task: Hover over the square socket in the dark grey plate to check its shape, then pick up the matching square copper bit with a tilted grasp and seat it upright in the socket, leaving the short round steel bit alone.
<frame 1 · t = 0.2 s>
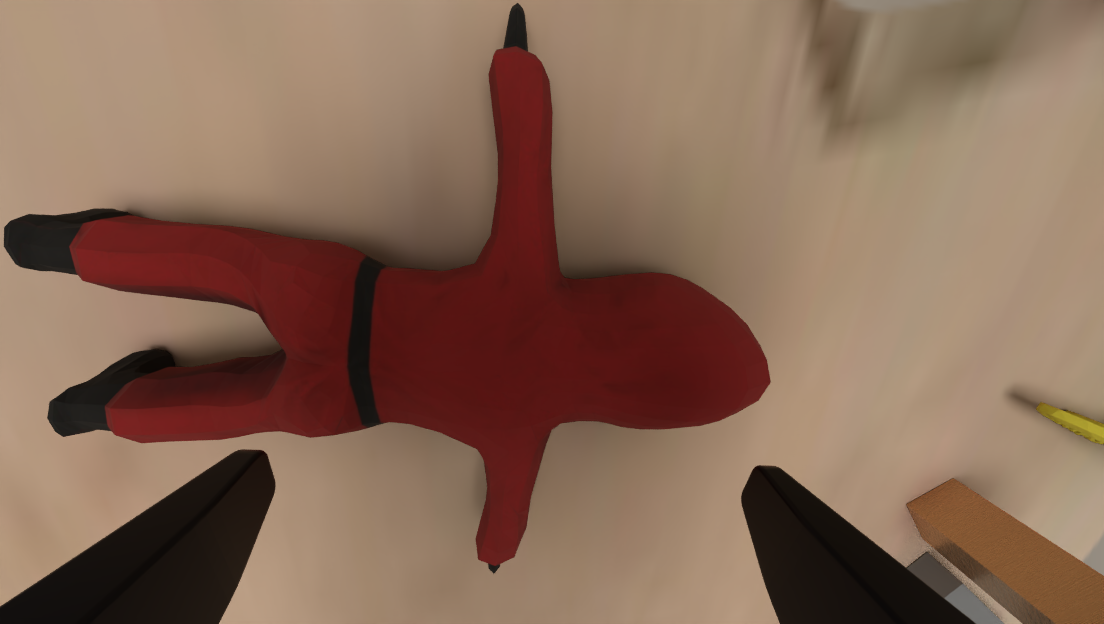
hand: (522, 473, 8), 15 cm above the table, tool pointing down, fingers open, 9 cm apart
toy: (442, 315, 24), on the table
decorative insect: (1077, 411, 28), on the table
square bit: (937, 509, 29), on the table
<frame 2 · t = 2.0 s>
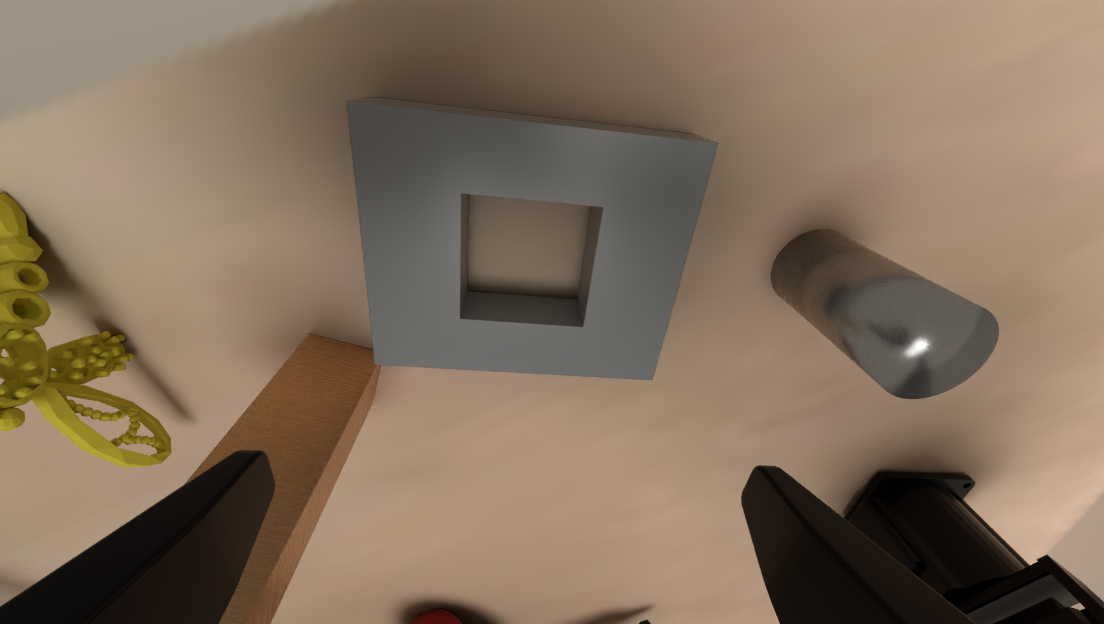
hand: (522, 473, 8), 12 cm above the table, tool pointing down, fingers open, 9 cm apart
socket plate: (527, 243, 18), on the table
decorative insect: (98, 328, 20), on the table
square bit: (342, 370, 21), on the table
round bit: (810, 267, 20), on the table
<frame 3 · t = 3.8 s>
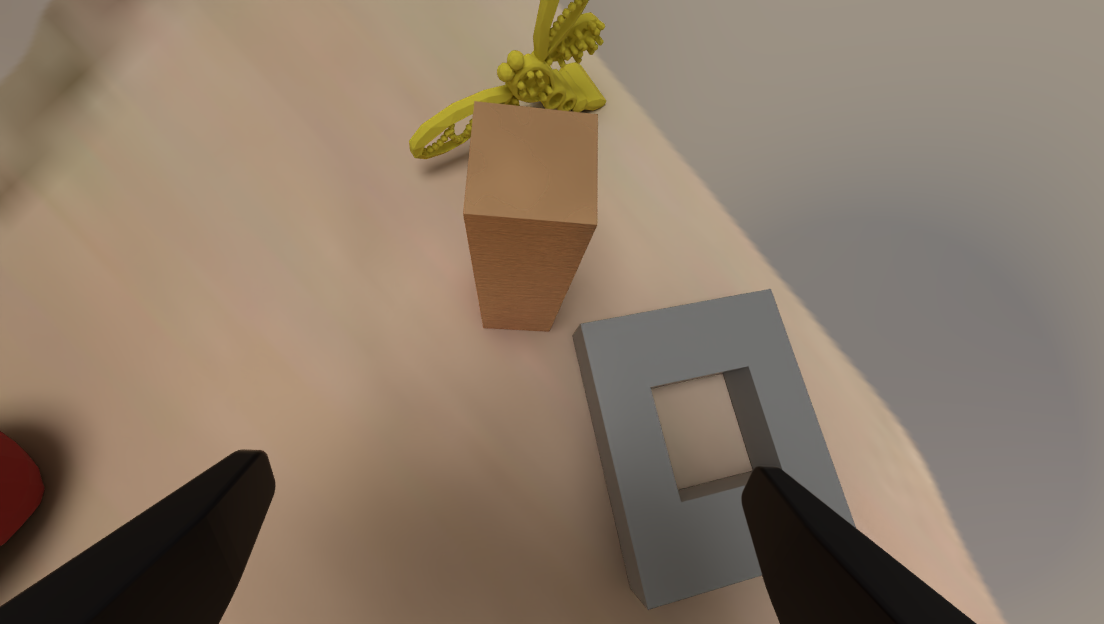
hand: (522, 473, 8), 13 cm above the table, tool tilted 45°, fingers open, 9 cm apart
socket plate: (693, 431, 22), on the table
decorative insect: (508, 128, 26), on the table
square bit: (518, 298, 23), on the table
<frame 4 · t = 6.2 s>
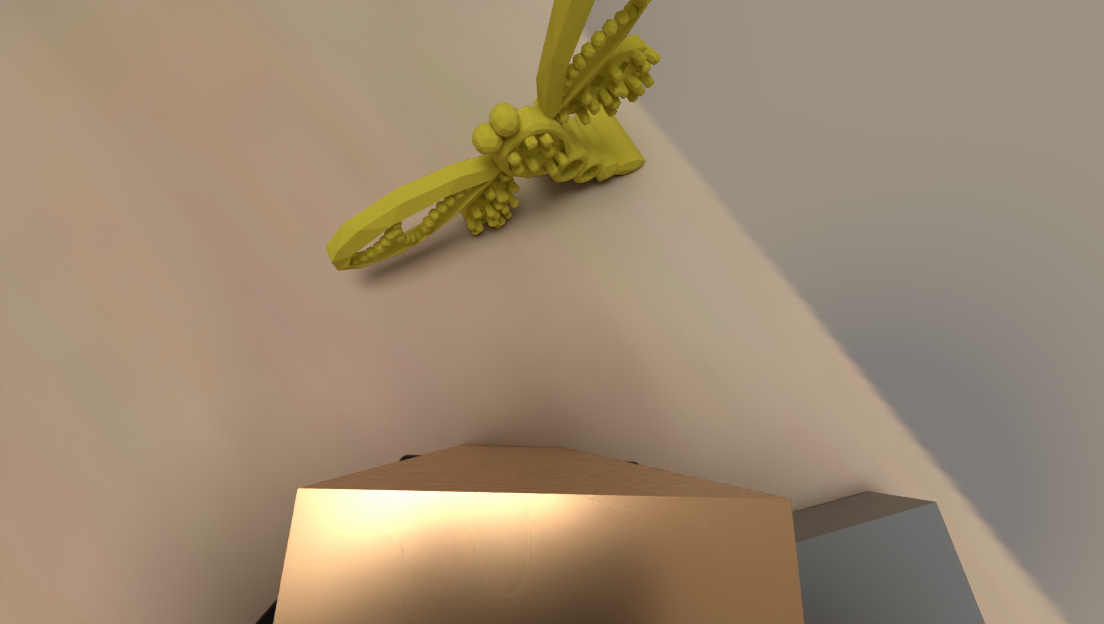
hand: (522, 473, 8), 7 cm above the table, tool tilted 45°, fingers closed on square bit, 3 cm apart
decorative insect: (497, 202, 17), on the table
square bit: (510, 501, 14), on the table, touching gripper
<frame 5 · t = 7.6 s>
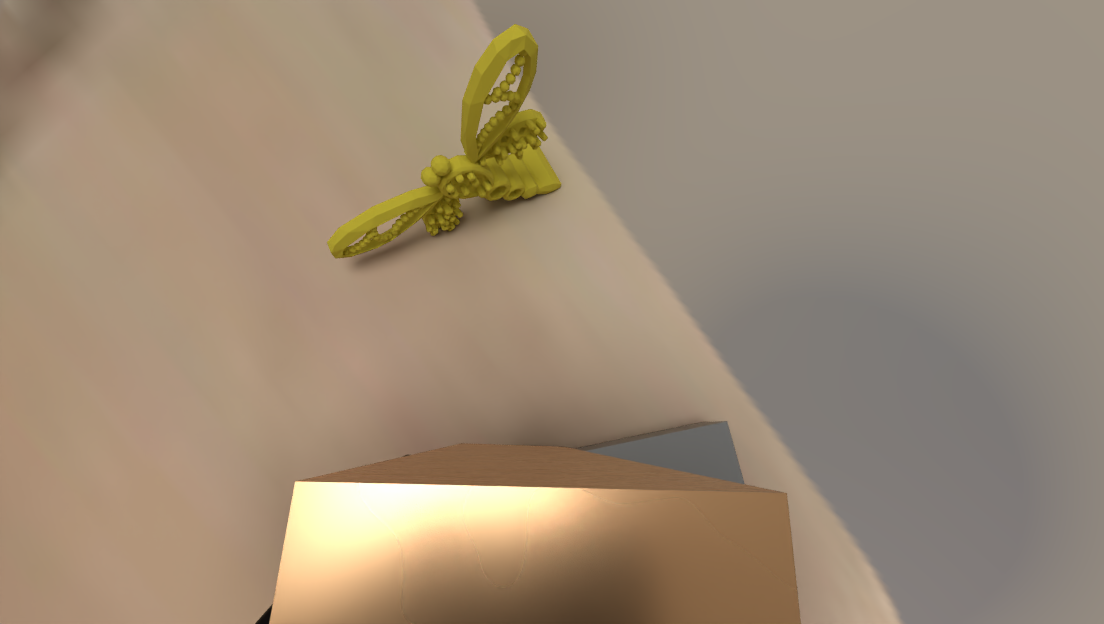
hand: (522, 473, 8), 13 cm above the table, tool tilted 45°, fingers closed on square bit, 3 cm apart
socket plate: (637, 575, 20), on the table
decorative insect: (451, 212, 24), on the table
square bit: (510, 499, 14), point 7 cm above the table, touching gripper
when the fingers open (9 cm above the table, at t = 9.2 s): square bit drops 2 cm, resting in socket plate.
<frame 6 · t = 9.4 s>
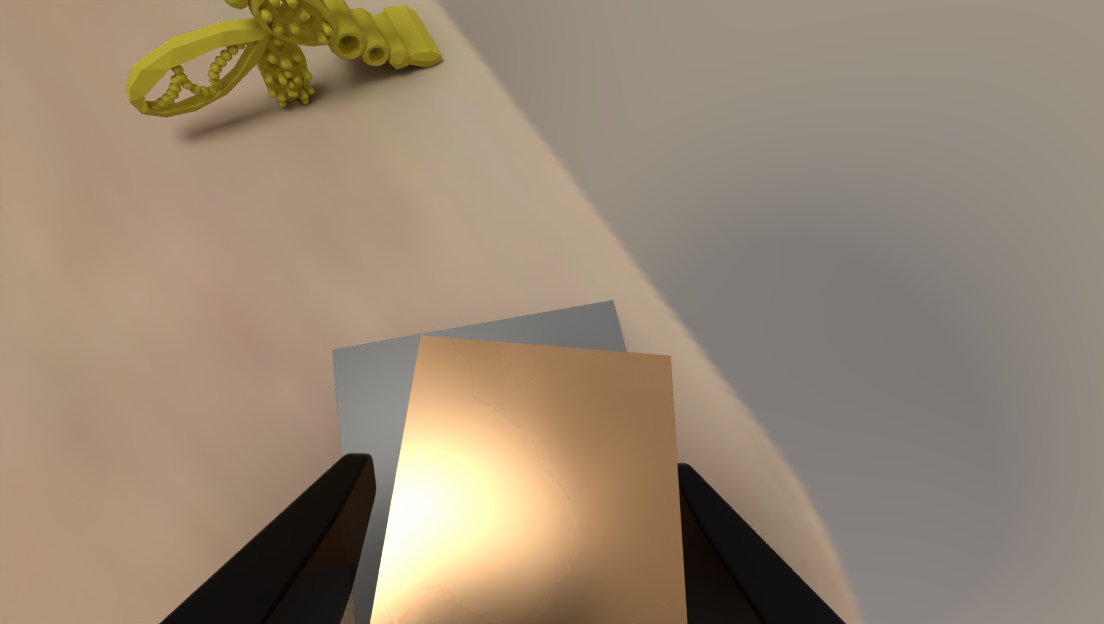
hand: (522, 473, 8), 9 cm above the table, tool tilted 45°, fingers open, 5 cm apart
socket plate: (509, 491, 16), on the table
decorative insect: (311, 86, 20), on the table
square bit: (510, 488, 16), resting in socket plate, tilted 7°
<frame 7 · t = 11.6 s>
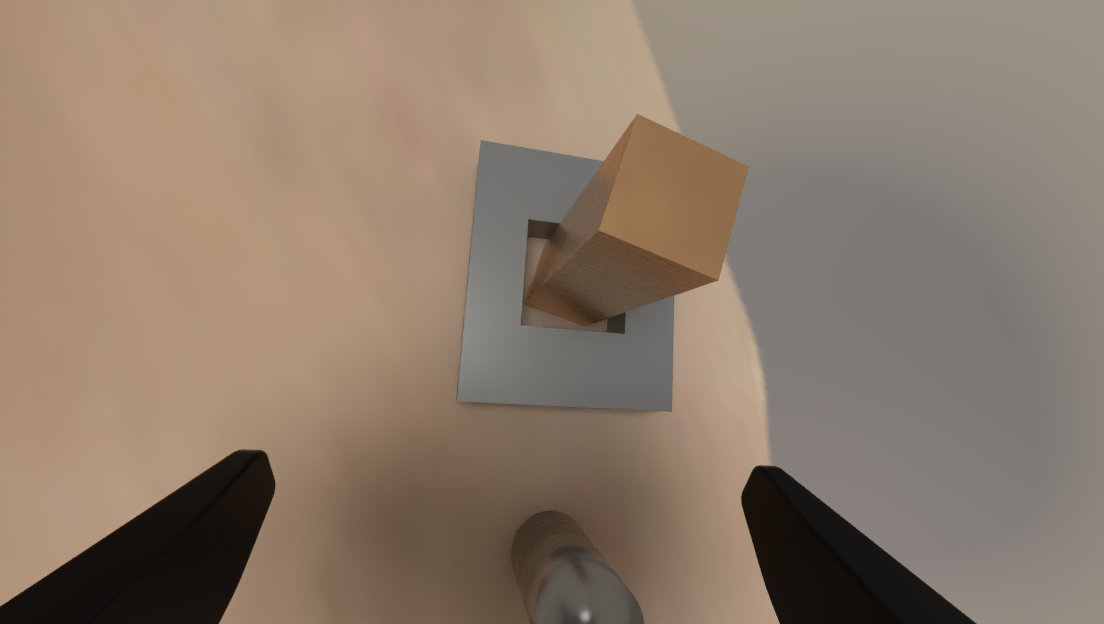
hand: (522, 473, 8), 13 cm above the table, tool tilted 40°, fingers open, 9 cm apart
socket plate: (564, 286, 23), on the table
square bit: (564, 285, 23), resting in socket plate
round bit: (548, 550, 21), on the table
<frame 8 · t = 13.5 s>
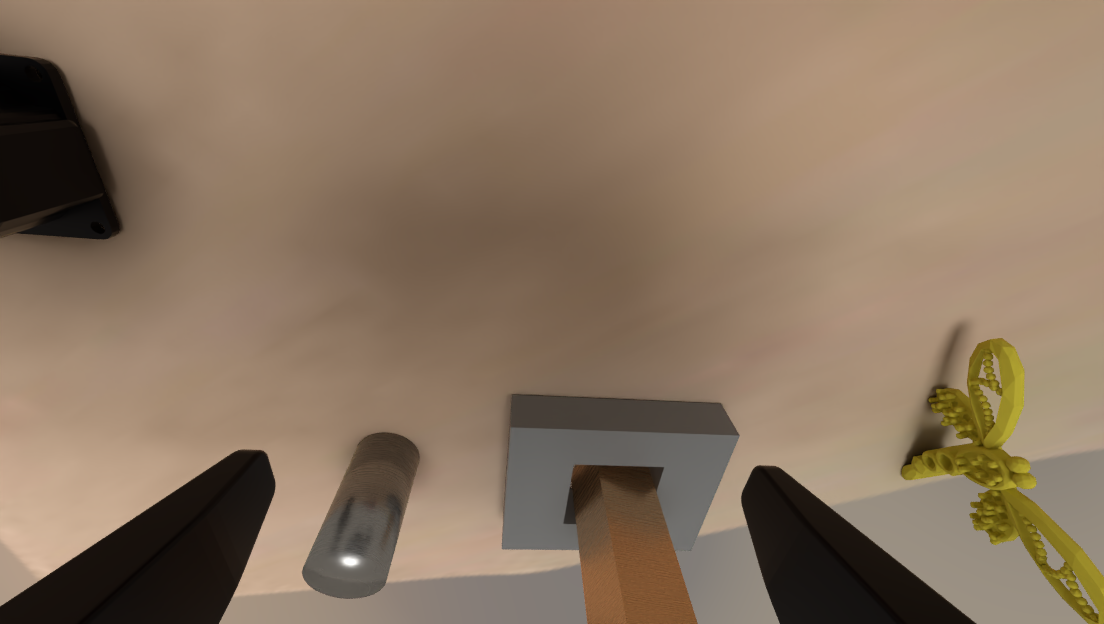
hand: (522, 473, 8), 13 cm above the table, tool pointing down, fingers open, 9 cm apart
socket plate: (604, 461, 27), on the table
decorative insect: (941, 399, 26), on the table
square bit: (606, 462, 27), resting in socket plate
round bit: (388, 455, 25), on the table
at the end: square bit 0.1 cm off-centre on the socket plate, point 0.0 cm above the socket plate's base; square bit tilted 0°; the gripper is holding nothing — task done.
